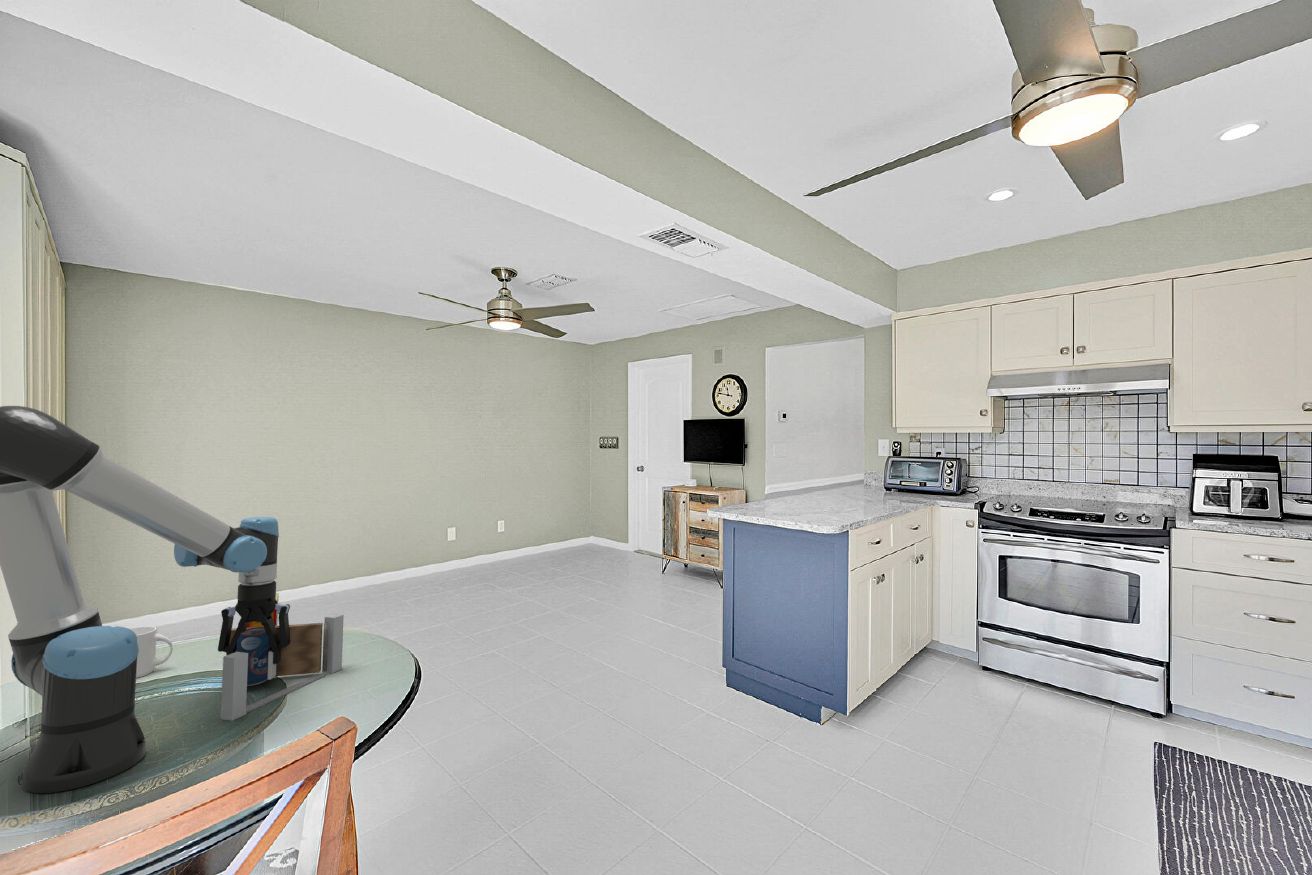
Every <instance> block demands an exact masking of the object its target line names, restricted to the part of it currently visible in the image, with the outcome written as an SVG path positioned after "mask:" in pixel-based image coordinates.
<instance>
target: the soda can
mask: <svg viewBox="0 0 1312 875" xmlns="http://www.w3.org/2000/svg"><path fill="white" fill-rule="evenodd" d="M240 634H241V635H240V636H239V638H238V640H237V652H243V653H248V671H247V687H249V686H256V685H259V684H262V683H264V682H266V681H267V679H268V654H269V651H271V650H272V647H271V645H270V642H269V638H268V636H267V634H266V631H265V629H264V627H255V628H250V629H246V630H245V631H244V632H242V633H240Z"/></svg>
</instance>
